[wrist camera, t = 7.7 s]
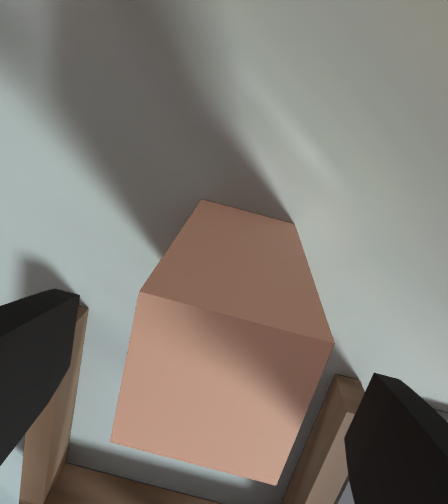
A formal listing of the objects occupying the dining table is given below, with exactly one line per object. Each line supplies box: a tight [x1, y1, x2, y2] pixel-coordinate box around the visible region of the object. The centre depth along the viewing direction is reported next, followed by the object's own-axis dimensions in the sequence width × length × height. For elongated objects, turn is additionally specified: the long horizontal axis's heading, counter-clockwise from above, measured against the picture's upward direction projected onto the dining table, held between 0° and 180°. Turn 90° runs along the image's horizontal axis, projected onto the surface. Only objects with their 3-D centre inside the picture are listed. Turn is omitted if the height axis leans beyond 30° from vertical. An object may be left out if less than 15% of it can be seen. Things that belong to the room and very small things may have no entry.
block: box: [110, 199, 335, 486], centre depth 13 cm, size 4×4×9 cm
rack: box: [19, 306, 365, 504], centre depth 19 cm, size 14×11×2 cm
